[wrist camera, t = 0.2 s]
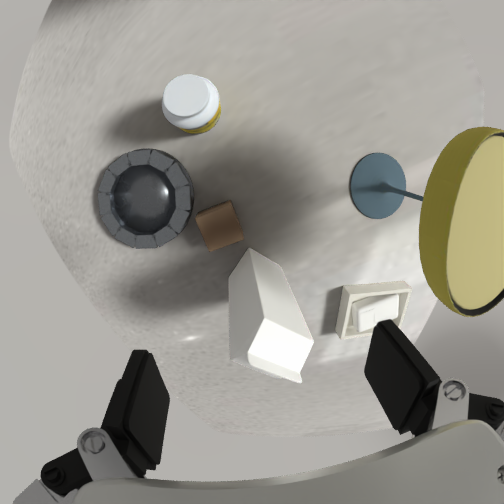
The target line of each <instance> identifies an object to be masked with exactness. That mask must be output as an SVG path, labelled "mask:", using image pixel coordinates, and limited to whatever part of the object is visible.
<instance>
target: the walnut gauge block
mask: <svg viewBox="0 0 504 504" xmlns="http://www.w3.org/2000/svg"><path fill="white" fill-rule="evenodd" d="M195 220H196V222H197V225H198V227H199V229H200V232H201V234H202V236H203V239H204V241H205V243H206V246H207V248H208V250H209V252H211V251H214V250H217V249H219V248H222V247H225V246H228V245H230V244H233V243H236V242H238V241H241V240H244V236H243V231H242V228H241V226H240V223H239V221H238V218H237V215H236V213H235V210H234V208H233V205H232V203H231V200H229V201H227V202H224V203H221V204H219V205H216V206H214V207H211V208H208V209H206V210H203V211H201V212H198V214H197V216H196V218H195Z"/></svg>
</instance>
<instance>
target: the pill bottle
mask: <svg viewBox="0 0 504 504" xmlns="http://www.w3.org/2000/svg"><path fill="white" fill-rule="evenodd" d="M162 110H163V113H164V115H165V117H166V119H167V120H168V121H169V122H170V123H171V124H173V125H174V126H176V127H178V128H180V129H181V130H183V131H185V132H187V133H191V134H200V133H204V132H207V131H209V130H210V129H212V128H213V127H214V126H215V125H216V123H217V122H218V120H219V118H220V114H221V107H220V99H219V94H218V91H217V89H216V87H215V86H214V85H213V83H212V82H210V81H209V80H208V79H206V78H203V77H200V76H196V75H192V74H184V75H180V76H178V77H176V78H174V79H173V80H171V81H170V82H169V83H168V85H167V86H166V88H165V90H164V93H163V98H162Z"/></svg>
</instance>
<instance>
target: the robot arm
mask: <svg viewBox="0 0 504 504" xmlns="http://www.w3.org/2000/svg"><path fill="white" fill-rule="evenodd" d="M364 373H365V376H366V378H367V380H368V382H369V384H370V385H371V387H372V389H373V391H374V393H375V395H376V396H377V398H378V400H379V402H380V404H381V406H382V407H383V409H384V411H385V413H386V415H387V417H388V419H389V421H390V422H391V424H392V426H393V428H394V429H395V430H398V431H399V433H400V435H401V434H403V433H406V432H408V431H411V433H412V439H410V440H408V441H405V442H403V443H400V444H398V445H395V446H393V447H390V448H388V449H385V450H382V451H379V452H377V453H374V454H371V455H368V456H365V457H362V458H359V459H356V460H352V461H349V462H345V463H342V464H338V465H334V466H330V467H326V468H322V469H318V470H313V471H308V472H303V473H298V474H292V475H286V476H279V477H272V478H264V479H254V480H242V481H221V482H196V481H195V482H194V481H193V482H192V481H169V480H158V479H147V478H146V477H145V474H146V469H149V470H155V469H156V464H157V465H158V464H160V460H161V453H162V446H163V440H164V433H165V427H166V420H167V414H168V409H169V402H170V398H169V393H168V391H167V389H166V386H165V384H164V382H163V379H162V377H161V375H160V372H159V370H158V367H157V365H156V362H155V360H154V357H153V355H152V353H149V352H148V351H147V350H133V351H132V354H131V356H130V359H129V361H128V363H127V366H126V369H125V371H124V374H123V377H122V379H120V380H119V381H118V382H117V384H116V387H115V389H114V392H113V395H112V397H111V400H110V403H109V405H108V408H107V411H106V414H105V417H104V419H103V422H102V425H101V428H90V429H87V430H85V431H83V432H82V433H81V434H80V436H79V438H78V440H77V447H78V448H76V449H74V450H72V451H70V452H68V453H66V454H64V455H63V456H61V457H58V458H56V459H54V460H52V461H50V462H48V463H47V464H45V465H44V466H43V468H42V470H41V479H40V480H38V479H36V480H35V481H34V482H33V483H32V484H31V485H29V486H28V487H27V488H26V489H25V490H24V491H23V492H22V493H21V494H20V495H19V496H18V497H17V498H16V499H15V500H14V502H13V504H504V402H503V401H501V400H500V399H497V398H492V397H487V396H481V395H477V394H471V393H469V388H468V387H467V385H466V384H465V382H463V381H462V380H460V379H457V378H448V379H445V380H444V381H443V382H442V381H441V380H440V377H439V376H438V375H437V374H436V372H435V371H434V370H433V369H432V367H431V366H430V365H429V364H428V362H427V361H426V360H425V359H424V357H423V356H422V355H421V354H420V352H419V351H418V350H417V349H416V348H415V346H414V345H413V344H412V343H411V342H410V341H409V339H408V338H407V337H406V336H405V335H404V333H403V332H402V331H401V330H400V329H399V328H398V326H397V325H396V324H395V323H394V322H393V321H392V320H391V319H387V320H383V321H379V322H378V323H377V325H376V326H374V329H373V334H372V338H371V343H370V348H369V352H368V357H367V361H366V365H365V369H364Z"/></svg>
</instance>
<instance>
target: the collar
mask: <svg viewBox="0 0 504 504" xmlns="http://www.w3.org/2000/svg"><path fill="white" fill-rule="evenodd" d="M108 168H109V169H107V170H106V171H105V174H104V176H103V179H102V181H101V184H100V186H99V189H98V191H100V193H98V203H99V212H100V215H104V216H103V217H101V219H102V221H103V222H104V224H105V225H106V227H107V228H108V230H109V231H110V233H111V234H112V236H113V235H115V234H116V236H115V238H116V239H118V240H119V241H121V242H123V243H125V244H127V245H129V246H130V247H132V248H134V247H135V246H136V249H140V248H157V247H158V246H159V247H160V246H162V245H163V244H165V243H167V242H168V241H170V240H172V239H173V238H175V237H176V236H177V235H178V234H179V233H180V232H181V231H182V230H183V229H184V227H185V226H186V224H187V222H188V221H189V218H190V216H191V213H192V210H193V205H194V190H193V185H192V182H191V179H190V176H189V174H188V173H187V171H186V169H185V168H184V166H183V165H182V164H181V163H180V162H179V161H178V160H177V159H176V158H174V157H173V156H171V155H170V154H168V153H166V152H163V151H160V150H157V149H139V150H135V151H132V152H128V153H125V154H124V155H122V156H121V157H120V158H119V159H117V160H116V161H115V162H114V163H112V164H111V165H110V166H109V167H108Z"/></svg>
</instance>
